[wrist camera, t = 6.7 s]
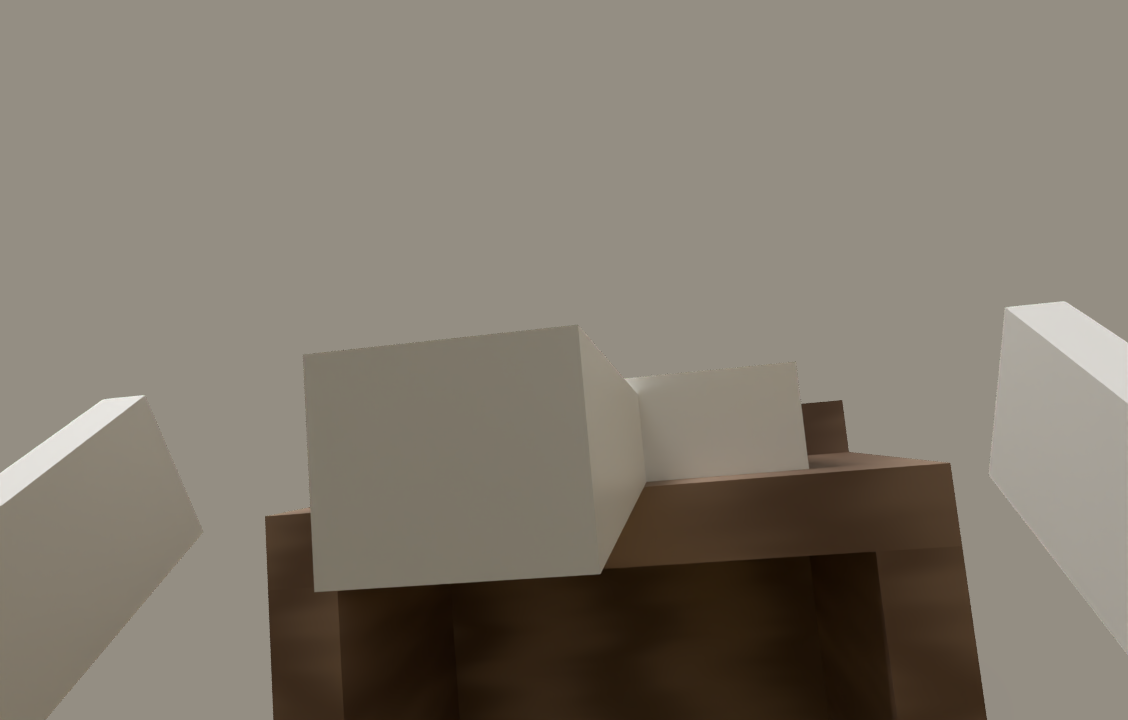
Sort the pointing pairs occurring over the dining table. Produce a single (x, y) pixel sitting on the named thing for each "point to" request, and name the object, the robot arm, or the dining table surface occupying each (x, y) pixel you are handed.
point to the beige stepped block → (515, 453)
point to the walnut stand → (668, 611)
